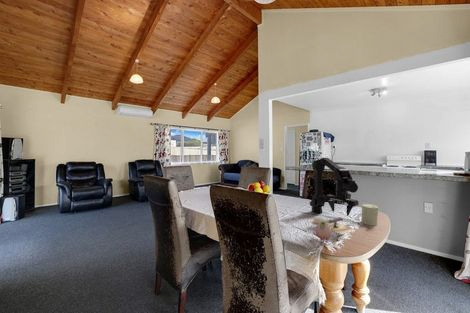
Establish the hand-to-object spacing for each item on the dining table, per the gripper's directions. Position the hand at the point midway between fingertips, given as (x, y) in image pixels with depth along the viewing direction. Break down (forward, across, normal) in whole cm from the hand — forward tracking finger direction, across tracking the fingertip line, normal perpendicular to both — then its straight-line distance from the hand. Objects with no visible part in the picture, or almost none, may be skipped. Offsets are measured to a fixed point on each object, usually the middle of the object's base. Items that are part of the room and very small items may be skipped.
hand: (340, 213), depth 136 cm
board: (+9, +3, +5) cm, 11 cm away
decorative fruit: (+9, -4, +24) cm, 26 cm away
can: (+9, -7, -24) cm, 27 cm away
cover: (+7, +9, +5) cm, 13 cm away
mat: (+9, +13, +18) cm, 24 cm away
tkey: (+7, 0, +5) cm, 9 cm away
